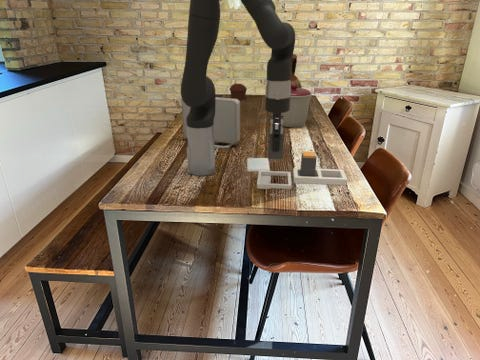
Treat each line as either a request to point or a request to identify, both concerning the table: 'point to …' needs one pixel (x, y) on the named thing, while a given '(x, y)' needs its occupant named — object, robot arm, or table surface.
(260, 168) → the hard drive
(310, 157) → the dark grey orange block
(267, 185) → the tray
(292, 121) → the canister
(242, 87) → the muffin
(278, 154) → the dark board eraser
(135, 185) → the table surface
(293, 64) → the ceramic pitcher
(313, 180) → the white compartment holder
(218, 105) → the network device
